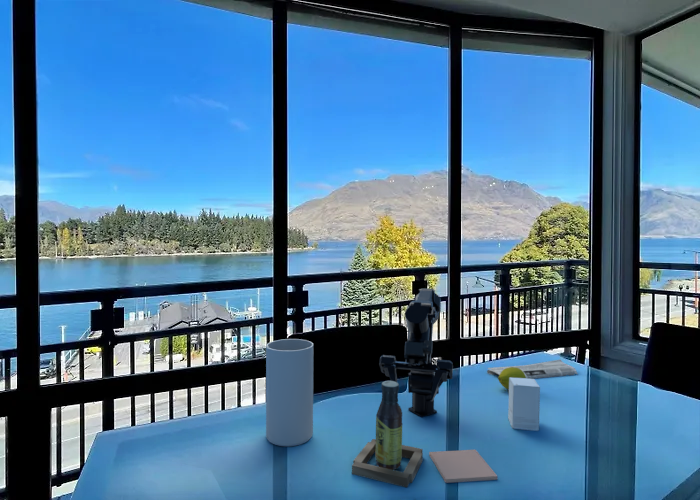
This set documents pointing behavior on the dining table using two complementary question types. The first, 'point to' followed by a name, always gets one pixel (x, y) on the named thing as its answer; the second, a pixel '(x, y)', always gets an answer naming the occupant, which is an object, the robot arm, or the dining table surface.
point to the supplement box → (524, 403)
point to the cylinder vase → (289, 392)
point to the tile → (462, 466)
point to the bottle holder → (386, 474)
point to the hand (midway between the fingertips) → (413, 398)
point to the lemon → (510, 375)
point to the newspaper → (540, 369)
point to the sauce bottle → (389, 428)
